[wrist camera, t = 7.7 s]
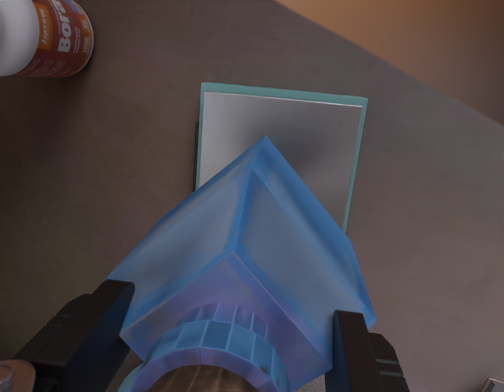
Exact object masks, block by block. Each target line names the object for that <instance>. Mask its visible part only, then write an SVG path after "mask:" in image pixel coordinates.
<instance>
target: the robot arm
mask: <svg viewBox="0 0 504 392" xmlns="http://www.w3.org/2000/svg"><path fill="white" fill-rule="evenodd" d="M134 292H135V285H134V283H133V282H128V281H121V280H113V279H106V280H105V281H104V282H103V283H102V284H101V285H100V286H99V287H98V288H97V289H96V290H95V291H94V292H93V294H83V295H81V296H79V297H77V298H75V299H74V300H72V301H70V302H68V303H67V304H66V305H65V306H64V307H63V308H62V309H61V310H60V311H59V312H58V313H57V315H56V316H54V317H53V318H52V319H51V320H50V321H49V322H48V323H47V326H44V327H43V328H42V329H41V330H40V331H39V332H38V333H37V334H36V335H35V336H34V337H33V338H32V339H31V340H30V341H29V342H28V343H27V344H26V345H25V346H24V347H23V348H22V349H21V350H20V351H19V352H18V353H17V354H16V355H15V356H14V357H13V358H12V359H3V360H0V392H105V391H106V390H107V388H108V386H109V385H110V383H111V381H112V380H113V378H114V376H115V374H116V373H117V371H118V369H119V368H120V366H121V364H122V363H123V361H124V359H125V358H126V356H127V354H128V352H129V351H130V347H129V346H128V345H127V344H126V343H125V342H124V340H123V339H122V338H121V337H120V336H119V334H120V331H121V329H122V326H123V323H124V320H125V317H126V315H127V312H128V309H129V306H130V303H131V300H132V298H133V295H134ZM325 386H326V392H410V391H409V388H408V386H407V383H406V380H405V378H403V372H402V369H401V367H400V365H399V361H398V358H397V356H396V353H395V350H394V348H393V347H392V346H391V344H390V343H389V342H388V341H387V340H386V339H385V338H384V337H383V336H382V335H381V334H375V333H368V329H367V326H366V323H365V319H364V316H363V314H362V313H359V312H351V311H344V310H335V311H334V314H333V336H332V369H331V370H329V371H328V372H326V373H325Z"/></svg>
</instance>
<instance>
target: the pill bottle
mask: <svg viewBox="0 0 504 392" xmlns="http://www.w3.org/2000/svg"><path fill="white" fill-rule="evenodd" d="M93 46H94V34H93V29H92V26H91V23H90V20H89V18H88V16H87V15H86V13H85V12H84V10H83V9H82V8H81V7H80V6H79V5H78V4H77V3H76V2H75V1H73V0H0V77H66V76H70V75H73V74H75V73H77V72H78V71H80V70H81V69H82V68H83V67H84V66H85V65H86V64H87V62H88V61H89V59H90V57H91V54H92V51H93Z"/></svg>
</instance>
